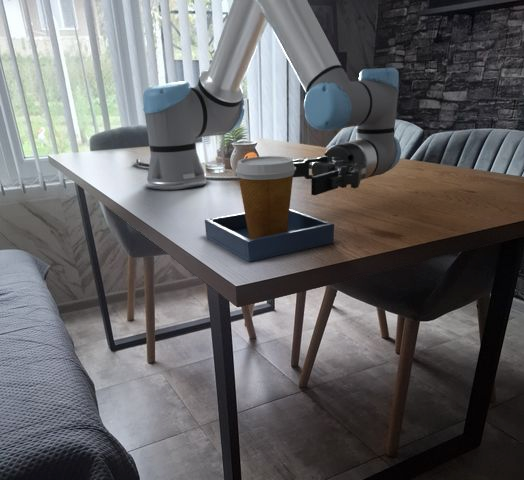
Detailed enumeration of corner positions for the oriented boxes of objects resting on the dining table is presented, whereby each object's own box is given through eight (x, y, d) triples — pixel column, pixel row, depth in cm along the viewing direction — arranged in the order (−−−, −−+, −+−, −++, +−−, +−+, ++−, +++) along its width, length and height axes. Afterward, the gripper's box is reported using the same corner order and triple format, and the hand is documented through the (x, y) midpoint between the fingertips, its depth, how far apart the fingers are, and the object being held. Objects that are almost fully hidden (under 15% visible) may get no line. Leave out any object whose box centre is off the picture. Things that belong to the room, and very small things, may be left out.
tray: (206, 237, 84) (204, 219, 82) (282, 222, 90) (282, 205, 89) (249, 262, 72) (247, 241, 70) (333, 243, 78) (334, 223, 77)
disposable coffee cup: (253, 227, 86) (249, 155, 80) (303, 230, 83) (304, 156, 77) (229, 242, 78) (223, 164, 72) (284, 247, 75) (283, 166, 69)
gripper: (406, 190, 87) (343, 215, 74) (296, 177, 102) (226, 197, 88) (411, 145, 84) (345, 163, 70) (296, 139, 98) (223, 153, 84)
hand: (279, 182), depth 79 cm, fingers open, 13 cm apart
